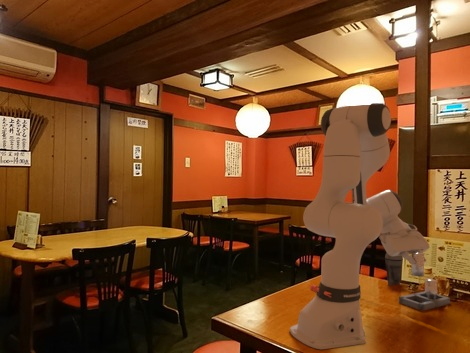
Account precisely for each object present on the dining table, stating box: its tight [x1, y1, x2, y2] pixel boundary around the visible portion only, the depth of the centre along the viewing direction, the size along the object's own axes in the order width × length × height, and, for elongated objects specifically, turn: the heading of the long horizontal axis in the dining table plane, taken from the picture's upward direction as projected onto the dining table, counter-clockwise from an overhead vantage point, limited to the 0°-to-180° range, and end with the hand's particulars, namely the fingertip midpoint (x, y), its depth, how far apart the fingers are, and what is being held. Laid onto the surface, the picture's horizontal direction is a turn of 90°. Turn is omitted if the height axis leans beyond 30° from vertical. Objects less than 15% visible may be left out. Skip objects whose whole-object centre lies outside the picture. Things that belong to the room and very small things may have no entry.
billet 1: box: [410, 252, 425, 278], centre depth 124 cm, size 4×4×8 cm
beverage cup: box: [384, 252, 404, 286], centre depth 150 cm, size 7×7×20 cm
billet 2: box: [424, 277, 438, 300], centre depth 127 cm, size 4×4×8 cm
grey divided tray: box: [398, 290, 451, 312], centre depth 125 cm, size 16×9×3 cm, turn 117°
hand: (419, 262), depth 123 cm, fingers closed on billet 1, 4 cm apart
